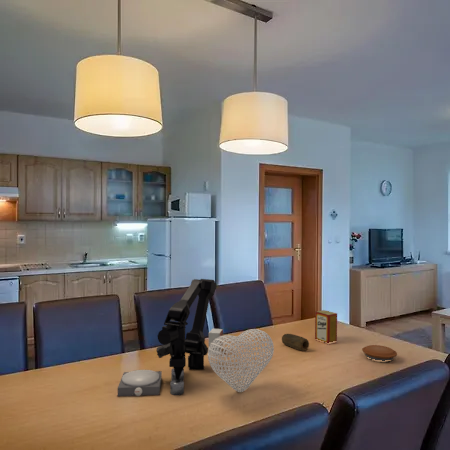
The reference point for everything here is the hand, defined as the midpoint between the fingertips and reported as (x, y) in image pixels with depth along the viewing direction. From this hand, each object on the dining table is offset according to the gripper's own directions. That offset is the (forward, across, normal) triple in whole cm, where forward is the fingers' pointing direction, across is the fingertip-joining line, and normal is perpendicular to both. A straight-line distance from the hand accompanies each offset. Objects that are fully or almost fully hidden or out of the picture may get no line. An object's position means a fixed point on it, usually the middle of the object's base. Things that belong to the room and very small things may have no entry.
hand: (177, 376), depth 160 cm
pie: (+2, -19, +95) cm, 97 cm away
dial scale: (+1, +6, -14) cm, 15 cm away
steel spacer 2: (+1, +12, 0) cm, 12 cm away
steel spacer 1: (+1, 0, 0) cm, 1 cm away
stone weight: (+2, -37, +59) cm, 70 cm away
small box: (+2, -33, +18) cm, 38 cm away
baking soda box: (+1, -47, +79) cm, 92 cm away
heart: (+1, +13, +24) cm, 27 cm away
